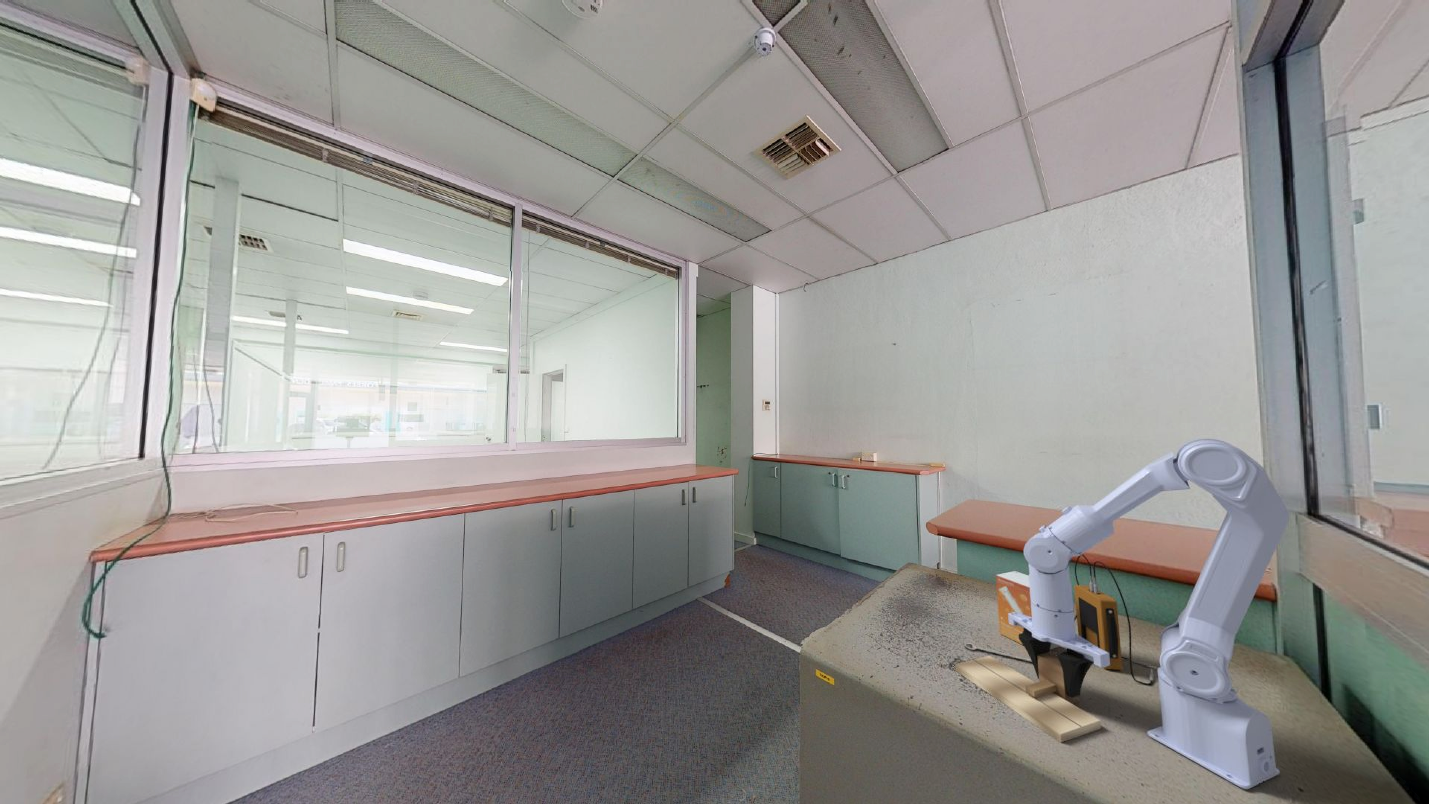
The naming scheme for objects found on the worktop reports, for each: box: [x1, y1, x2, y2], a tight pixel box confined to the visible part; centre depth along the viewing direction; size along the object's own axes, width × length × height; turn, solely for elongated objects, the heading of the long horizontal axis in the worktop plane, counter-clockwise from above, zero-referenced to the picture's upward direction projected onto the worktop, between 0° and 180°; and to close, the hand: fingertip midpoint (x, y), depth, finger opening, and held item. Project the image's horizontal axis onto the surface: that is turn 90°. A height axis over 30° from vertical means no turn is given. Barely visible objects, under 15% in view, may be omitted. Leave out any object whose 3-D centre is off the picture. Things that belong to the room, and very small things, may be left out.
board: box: [954, 655, 1102, 743], centre depth 68 cm, size 18×8×1 cm, turn 16°
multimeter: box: [1073, 553, 1159, 686], centre depth 77 cm, size 15×10×20 cm
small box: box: [995, 570, 1060, 651], centre depth 85 cm, size 8×6×13 cm
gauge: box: [1025, 651, 1079, 705], centre depth 67 cm, size 4×8×6 cm, turn 106°
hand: (1058, 686), depth 68 cm, fingers closed on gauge, 4 cm apart
